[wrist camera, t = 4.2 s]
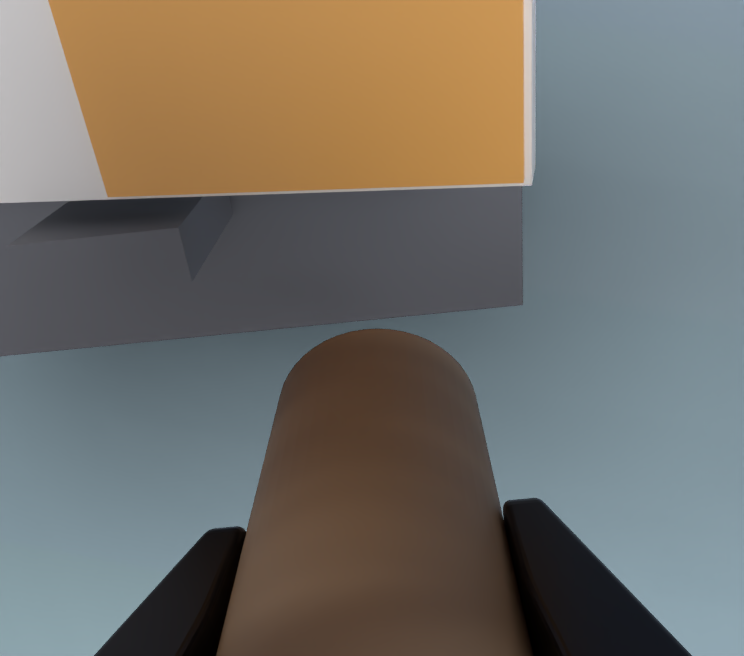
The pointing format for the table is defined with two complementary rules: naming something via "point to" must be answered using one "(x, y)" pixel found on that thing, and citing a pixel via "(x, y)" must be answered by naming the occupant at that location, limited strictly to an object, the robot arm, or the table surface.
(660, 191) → the table surface
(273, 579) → the walnut cylinder
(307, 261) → the grey square block
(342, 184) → the white and orange panel
